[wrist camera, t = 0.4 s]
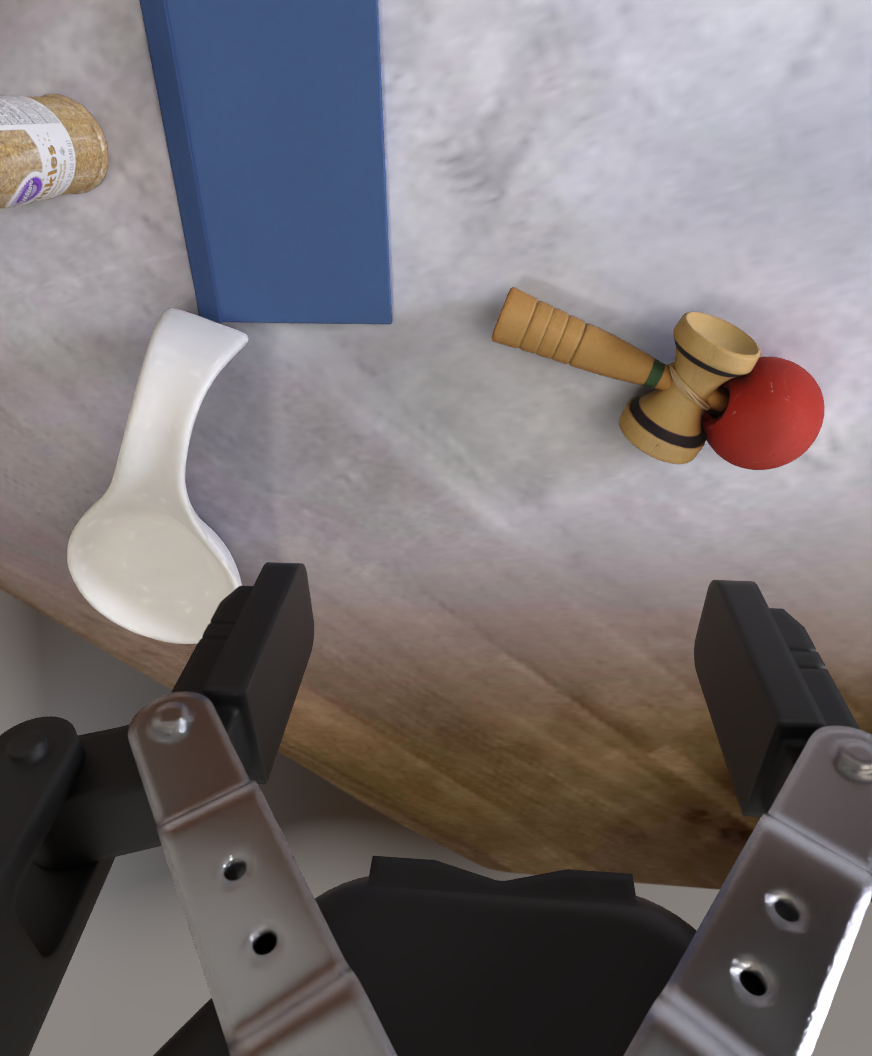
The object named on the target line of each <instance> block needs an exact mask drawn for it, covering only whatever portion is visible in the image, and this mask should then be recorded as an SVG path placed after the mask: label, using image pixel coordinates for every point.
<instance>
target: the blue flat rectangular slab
mask: <svg viewBox="0 0 872 1056" xmlns="http://www.w3.org/2000/svg"><path fill="white" fill-rule="evenodd" d="M140 5H141V10H142V15H143V20H144V26H145V31H146V36H147V41H148V47H149V52H150V57H151V62H152V68H153V73H154V78H155V83H156V89H157V94H158V99H159V105H160V110H161V115H162V120H163V126H164V131H165V136H166V141H167V147H168V152H169V157H170V162H171V168H172V173H173V178H174V183H175V189H176V194H177V199H178V205H179V210H180V215H181V220H182V226H183V231H184V236H185V241H186V247H187V252H188V257H189V262H190V268H191V273H192V278H193V283H194V289H195V294H196V299H197V305H198V310H199V315H200V317H203V318H206V319H208V320H211V321H214V322H216V323H221V322H263V323H338V324H391V323H392V314H391V291H390V268H389V245H388V222H387V200H386V177H385V154H384V131H383V108H382V86H381V63H380V40H379V17H378V0H140Z"/></svg>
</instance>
